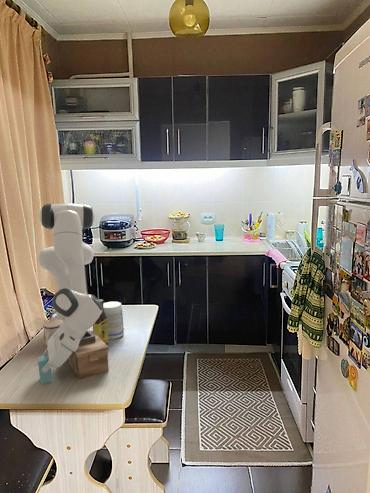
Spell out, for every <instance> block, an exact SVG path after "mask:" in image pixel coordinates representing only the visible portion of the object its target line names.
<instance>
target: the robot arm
mask: <svg viewBox="0 0 370 493" xmlns="http://www.w3.org/2000/svg"><path fill="white" fill-rule="evenodd" d="M39 220H40V223H41V226H43V228H45V229H49V230H53V233H52V234H53V235H52V239H53V240H52V245H53V246H48V247H45V248H42V249H41V250H40V252H39V254H38V258H37V259H38V263H39V265H40V266H41V267H42V268H43V269H44V270H46V271H48V272H49V273H51V275H52V277H54V280H55V283H56V287H57V291H56V292H55V294H54V296H53V297H52V301H51V303H52V304H51V305H52V308H53V309H52V315H51V318H52V317H56V319H60V320H63V321H64V322H63V323H62V325H61V326H60V327H59V328H58V329H57V330H56V332H55V333H54V334H53V335H52V336H51V338H50V339H49V340H48V342H47V345H46V346H47V348H46V349H45V350H44V352H43V354H42V355H41V356H46V355H49V361H48V363H47V364H46V365H44V366H43V367H42V371H43V372H44V373H46V372H47V371H48V370H49V369H50V368H51V369H52V368H56V369H58V368H60V367H61V366H63V365H64V363H65V362H66V361H67V359H68V358H69V356H70V355H71V354H72V351H73V352H75V351H76V350H77V349H78V346H79V342H80V340H81V339H82V337H83V336H84V335H85V333H86V331H88V330H89V329H91V328H93V324H94V323H95V322H96V321H97V319H98V318H99V316H100V315H101V313H102V311H103V306H102V304H101V302H100V301H99V300H98V299H99V298H97V297H96V296H95V295H94V294H89V292H88V283H87V281H88V280H87V271H86V265H88V264H91V263H92V261H93V259H94V257H95V256H94V255H95V254H94V249H93V248H92V247H91V245H90V244H88V243H85V242H84V241H83V230H86V229H90V228H91V227H92V226H93V225H94V224H93V223H94V222H95V212H94V210H93V207H91V206H90V205H88V204H78V203H70V202H69V203H45V204H44V205H42V207H41V209H40V211H39Z"/></svg>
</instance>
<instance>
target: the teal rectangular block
mask: <svg viewBox="0 0 370 493" xmlns="http://www.w3.org/2000/svg"><path fill="white" fill-rule="evenodd" d="M37 361H38V362H37V363H38V373H39V381H40V384H41V385H43V384H46V383H51V382H53V372H52V368H50V369H49V370H48V371H47V372H46V373H44V372H43V371H42V367H43V366H44V365H46V364H47V363H48V361H49V355H46V356H42V355H41V356H37Z"/></svg>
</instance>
